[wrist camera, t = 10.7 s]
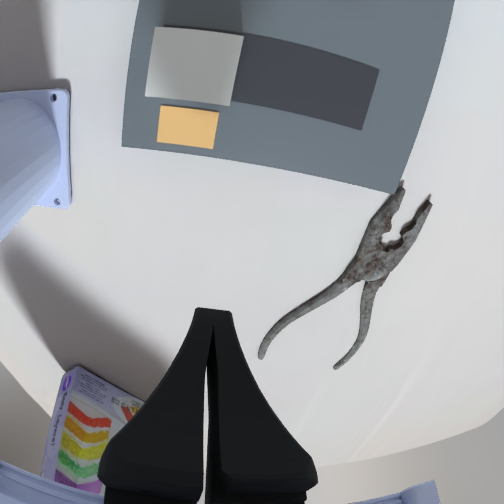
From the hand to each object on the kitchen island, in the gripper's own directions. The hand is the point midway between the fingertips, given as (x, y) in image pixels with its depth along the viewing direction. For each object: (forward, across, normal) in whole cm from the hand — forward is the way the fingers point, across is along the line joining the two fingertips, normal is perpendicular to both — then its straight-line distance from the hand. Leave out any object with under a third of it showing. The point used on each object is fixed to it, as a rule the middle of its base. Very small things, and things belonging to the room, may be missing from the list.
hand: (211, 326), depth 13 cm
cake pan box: (+10, +7, +28) cm, 30 cm away
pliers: (+10, -10, +6) cm, 15 cm away
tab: (+8, +2, -9) cm, 12 cm away
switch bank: (+9, -2, -13) cm, 16 cm away
